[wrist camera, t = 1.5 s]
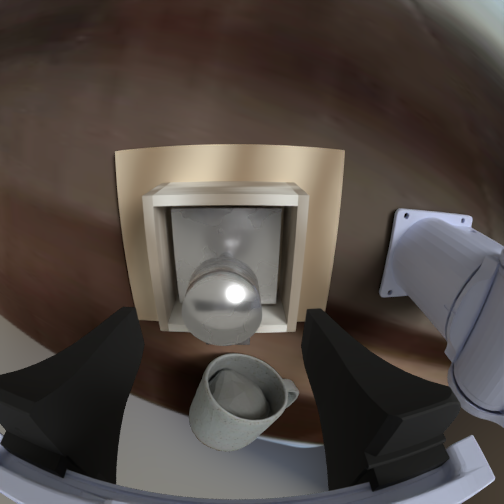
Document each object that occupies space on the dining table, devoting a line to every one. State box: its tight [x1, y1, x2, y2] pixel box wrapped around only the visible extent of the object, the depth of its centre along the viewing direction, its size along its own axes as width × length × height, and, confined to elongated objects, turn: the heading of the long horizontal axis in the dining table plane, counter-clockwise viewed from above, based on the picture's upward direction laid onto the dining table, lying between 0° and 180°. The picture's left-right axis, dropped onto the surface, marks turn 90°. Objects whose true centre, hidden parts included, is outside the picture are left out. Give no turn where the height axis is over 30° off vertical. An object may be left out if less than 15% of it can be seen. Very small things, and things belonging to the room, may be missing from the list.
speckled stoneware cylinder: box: [189, 353, 299, 451], centre depth 24 cm, size 11×8×8 cm
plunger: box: [171, 206, 282, 346], centre depth 15 cm, size 7×7×6 cm
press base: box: [115, 144, 345, 345], centre depth 19 cm, size 16×14×5 cm
